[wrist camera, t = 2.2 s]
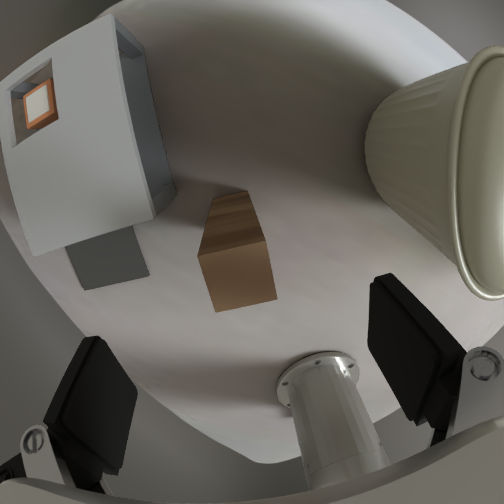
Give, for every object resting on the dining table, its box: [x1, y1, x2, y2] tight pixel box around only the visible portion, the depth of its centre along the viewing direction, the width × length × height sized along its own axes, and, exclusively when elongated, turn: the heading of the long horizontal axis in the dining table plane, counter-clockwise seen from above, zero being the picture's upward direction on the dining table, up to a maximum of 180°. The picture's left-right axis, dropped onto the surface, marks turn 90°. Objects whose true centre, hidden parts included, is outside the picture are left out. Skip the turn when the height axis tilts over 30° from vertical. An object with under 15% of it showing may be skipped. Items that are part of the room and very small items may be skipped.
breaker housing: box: [0, 13, 177, 257], centre depth 19 cm, size 16×12×9 cm
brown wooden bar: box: [197, 191, 277, 312], centre depth 21 cm, size 3×3×14 cm
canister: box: [364, 46, 504, 301], centre depth 16 cm, size 18×18×21 cm
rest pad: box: [66, 225, 150, 290], centre depth 27 cm, size 9×9×1 cm
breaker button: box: [23, 78, 59, 129], centre depth 16 cm, size 3×3×4 cm
